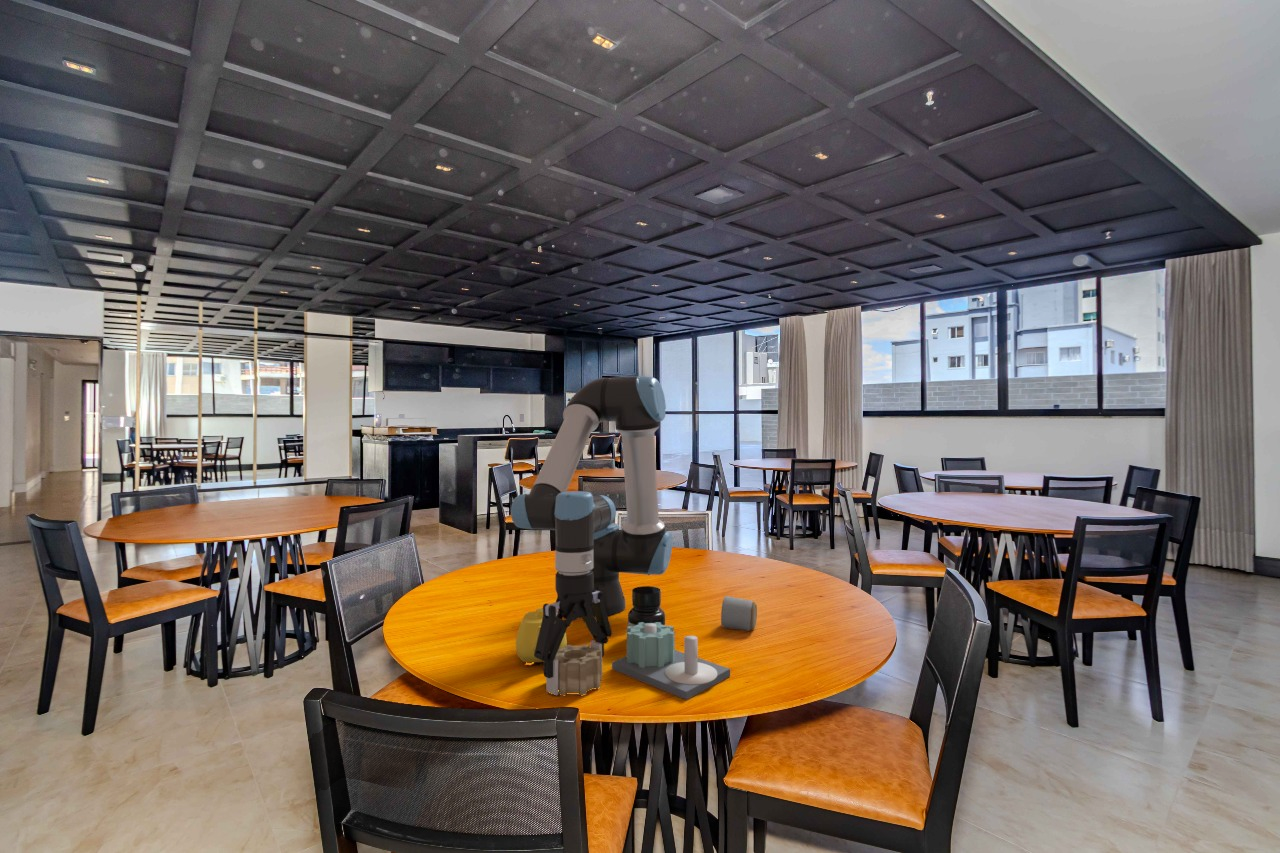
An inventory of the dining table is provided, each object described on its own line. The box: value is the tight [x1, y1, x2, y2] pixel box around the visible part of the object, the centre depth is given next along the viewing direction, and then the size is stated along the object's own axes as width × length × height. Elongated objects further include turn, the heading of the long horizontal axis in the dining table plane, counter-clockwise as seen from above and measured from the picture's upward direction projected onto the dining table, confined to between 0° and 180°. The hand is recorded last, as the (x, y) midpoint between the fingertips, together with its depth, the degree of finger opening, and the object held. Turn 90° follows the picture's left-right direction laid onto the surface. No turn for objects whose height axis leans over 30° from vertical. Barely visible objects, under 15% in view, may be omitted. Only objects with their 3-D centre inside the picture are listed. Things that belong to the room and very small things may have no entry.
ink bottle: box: [627, 585, 666, 627], centre depth 137 cm, size 10×9×12 cm
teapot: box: [515, 607, 568, 663], centre depth 126 cm, size 18×11×11 cm, turn 9°
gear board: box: [611, 622, 731, 701], centre depth 118 cm, size 21×14×8 cm, turn 46°
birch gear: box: [555, 644, 602, 696], centre depth 113 cm, size 10×10×6 cm
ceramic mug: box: [720, 595, 758, 631], centre depth 146 cm, size 11×8×8 cm
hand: (575, 683), depth 113 cm, fingers open, 10 cm apart
